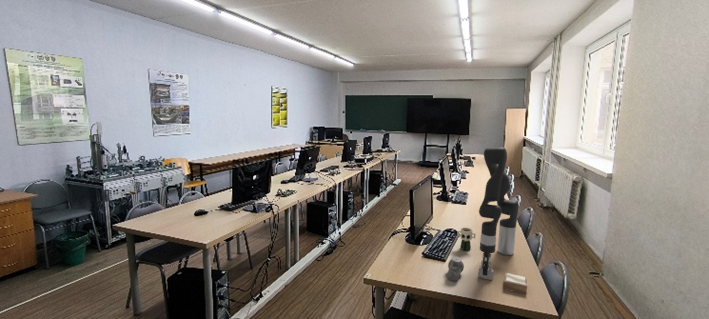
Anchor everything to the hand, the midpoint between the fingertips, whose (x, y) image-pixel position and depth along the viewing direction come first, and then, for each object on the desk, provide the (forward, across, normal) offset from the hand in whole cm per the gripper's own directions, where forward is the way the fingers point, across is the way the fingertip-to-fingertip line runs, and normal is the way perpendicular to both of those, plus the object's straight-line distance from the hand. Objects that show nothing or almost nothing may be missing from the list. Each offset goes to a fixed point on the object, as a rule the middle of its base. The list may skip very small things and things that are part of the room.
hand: (485, 271), depth 172 cm
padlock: (+4, 0, 0) cm, 4 cm away
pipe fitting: (+4, +7, -15) cm, 17 cm away
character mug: (+3, -33, -15) cm, 36 cm away
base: (+3, +3, +14) cm, 15 cm away
